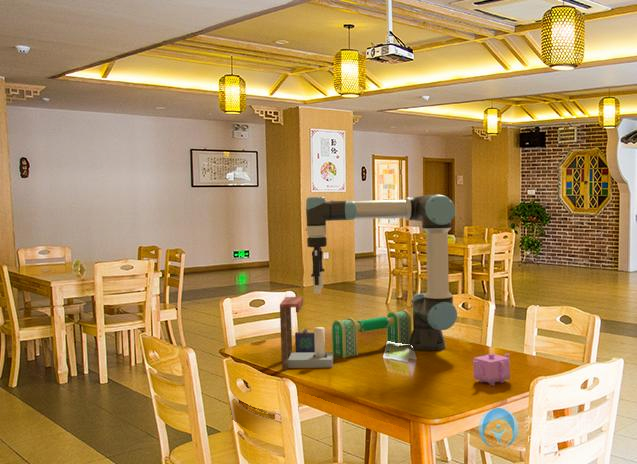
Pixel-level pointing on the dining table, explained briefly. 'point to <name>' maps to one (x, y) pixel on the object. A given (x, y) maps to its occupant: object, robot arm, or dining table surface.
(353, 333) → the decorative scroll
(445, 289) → the robot arm
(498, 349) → the dining table surface
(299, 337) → the flask
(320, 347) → the peg
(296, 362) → the socket block
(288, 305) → the curved red bench
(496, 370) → the pink square teapot
